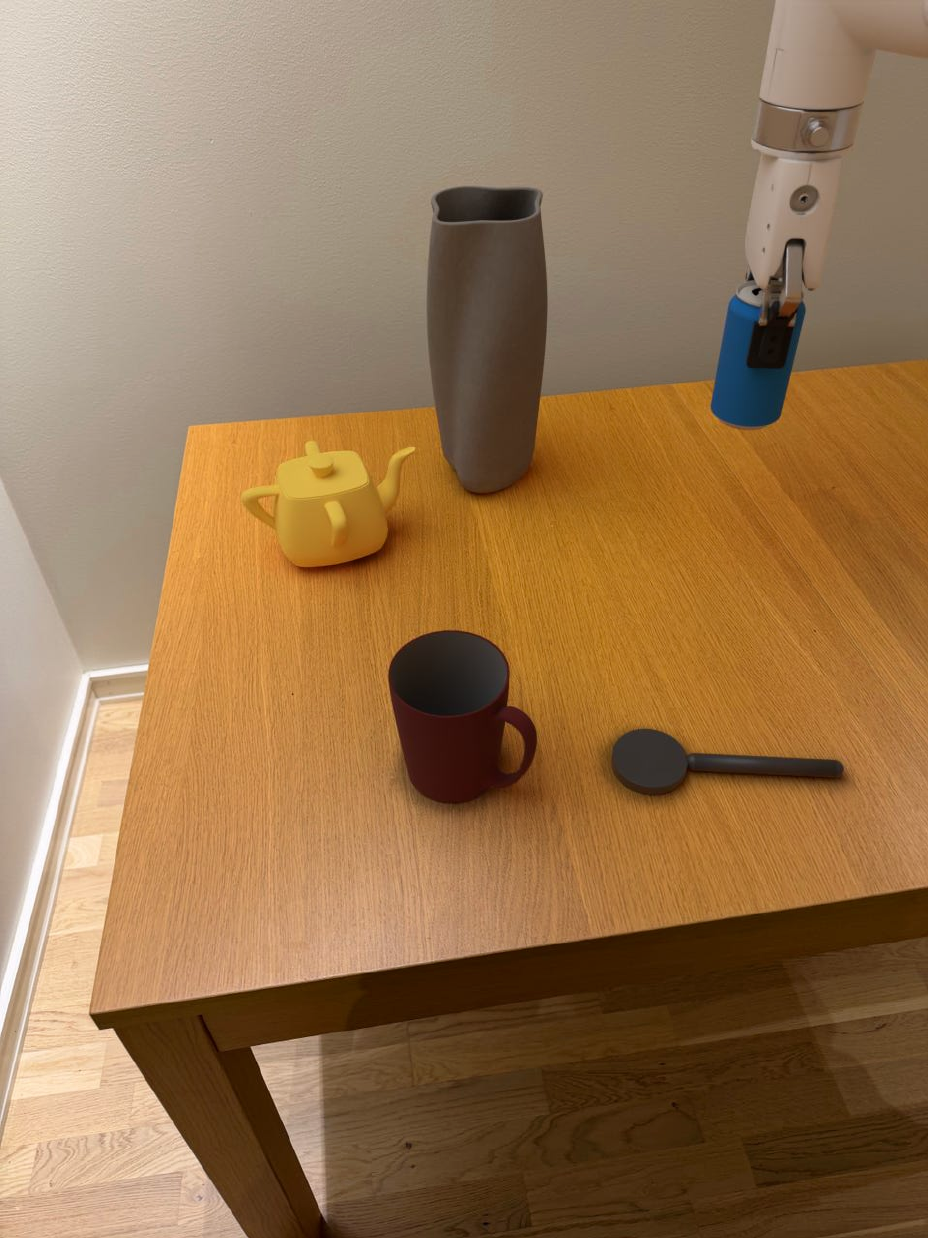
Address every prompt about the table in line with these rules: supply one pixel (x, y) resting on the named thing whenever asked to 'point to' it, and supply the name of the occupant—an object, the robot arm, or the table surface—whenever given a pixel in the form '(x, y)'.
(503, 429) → the vase
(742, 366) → the beverage can
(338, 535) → the teapot
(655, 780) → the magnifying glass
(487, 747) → the mug
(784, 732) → the table surface
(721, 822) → the table surface
